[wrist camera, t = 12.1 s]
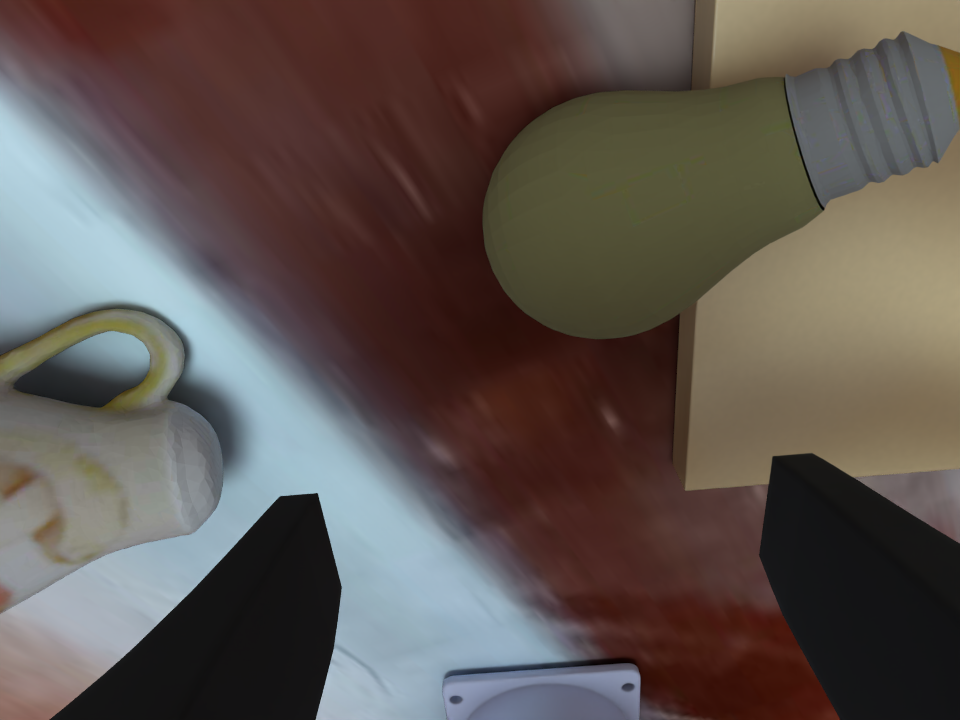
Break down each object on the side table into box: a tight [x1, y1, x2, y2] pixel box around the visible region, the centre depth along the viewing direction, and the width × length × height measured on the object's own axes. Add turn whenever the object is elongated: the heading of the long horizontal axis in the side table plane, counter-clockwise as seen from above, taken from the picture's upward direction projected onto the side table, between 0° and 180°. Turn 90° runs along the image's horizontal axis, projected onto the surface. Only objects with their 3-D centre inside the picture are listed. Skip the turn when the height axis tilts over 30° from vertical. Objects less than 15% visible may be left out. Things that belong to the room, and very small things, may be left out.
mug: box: [0, 309, 223, 614], centre depth 19 cm, size 8×10×10 cm
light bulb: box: [482, 31, 960, 339], centre depth 14 cm, size 6×6×10 cm
